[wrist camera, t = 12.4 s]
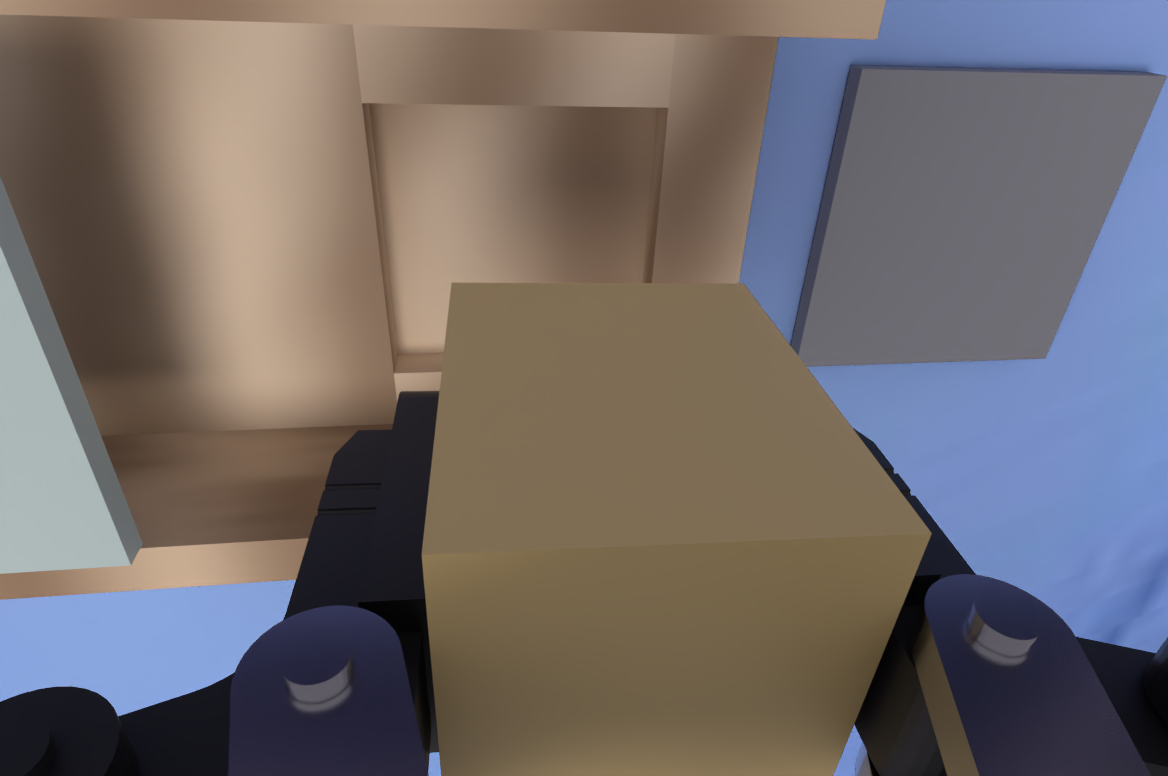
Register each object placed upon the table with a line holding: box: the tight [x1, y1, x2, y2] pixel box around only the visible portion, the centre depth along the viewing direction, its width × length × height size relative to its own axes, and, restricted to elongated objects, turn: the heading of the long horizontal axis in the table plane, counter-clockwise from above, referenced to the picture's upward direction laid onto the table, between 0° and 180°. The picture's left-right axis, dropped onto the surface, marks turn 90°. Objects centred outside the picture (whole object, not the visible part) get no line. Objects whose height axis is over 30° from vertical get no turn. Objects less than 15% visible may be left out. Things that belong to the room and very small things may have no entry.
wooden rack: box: [0, 0, 886, 600], centre depth 15 cm, size 20×12×6 cm, turn 88°
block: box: [422, 283, 932, 776], centre depth 9 cm, size 4×4×5 cm
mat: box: [791, 65, 1167, 367], centre depth 20 cm, size 8×8×1 cm
